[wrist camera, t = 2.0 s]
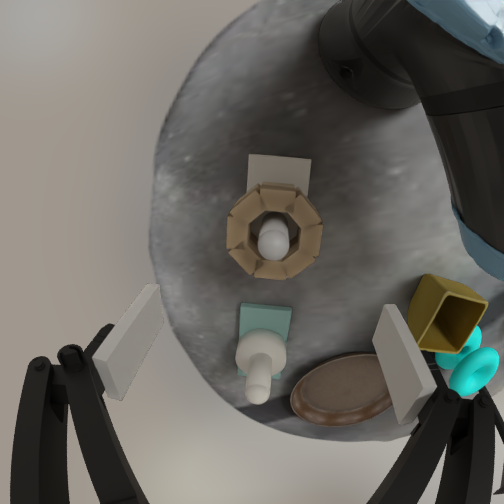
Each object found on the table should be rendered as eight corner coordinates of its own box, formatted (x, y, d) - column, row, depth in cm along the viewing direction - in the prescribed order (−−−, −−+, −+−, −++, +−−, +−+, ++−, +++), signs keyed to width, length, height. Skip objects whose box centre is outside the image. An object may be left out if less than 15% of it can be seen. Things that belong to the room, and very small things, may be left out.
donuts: (508, 347, 29) (492, 387, 32) (481, 312, 38) (471, 352, 41) (460, 368, 30) (447, 407, 34) (436, 327, 40) (429, 367, 43)
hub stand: (240, 302, 40) (227, 360, 30) (292, 307, 40) (294, 366, 29) (237, 370, 46) (227, 426, 35) (280, 374, 46) (278, 431, 35)
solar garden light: (477, 394, 46) (517, 489, 19) (443, 397, 47) (482, 508, 19) (504, 355, 41) (560, 453, 14) (472, 356, 42) (531, 473, 14)
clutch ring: (235, 179, 30) (228, 186, 26) (321, 187, 29) (327, 195, 26) (231, 258, 33) (225, 274, 30) (310, 265, 33) (313, 282, 29)
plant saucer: (348, 424, 51) (350, 436, 48) (267, 395, 48) (266, 409, 45) (422, 365, 43) (428, 377, 40) (344, 321, 41) (348, 335, 38)
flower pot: (393, 310, 39) (413, 350, 31) (417, 258, 35) (446, 291, 27) (435, 319, 39) (458, 354, 31) (459, 271, 35) (490, 302, 27)
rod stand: (248, 153, 32) (234, 163, 22) (311, 159, 32) (326, 172, 22) (242, 263, 38) (228, 314, 28) (298, 268, 38) (303, 321, 27)
